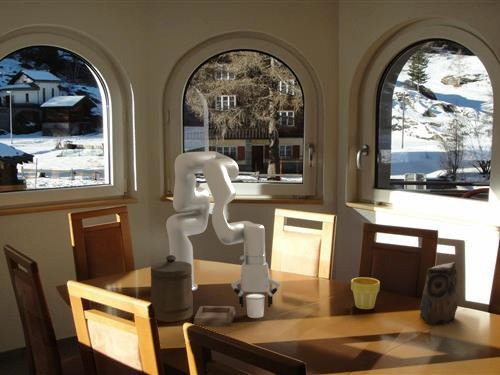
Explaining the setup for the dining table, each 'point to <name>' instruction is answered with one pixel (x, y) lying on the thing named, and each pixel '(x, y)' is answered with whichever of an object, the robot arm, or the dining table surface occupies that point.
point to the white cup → (255, 305)
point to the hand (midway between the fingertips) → (256, 306)
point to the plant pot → (365, 292)
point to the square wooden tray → (214, 316)
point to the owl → (440, 295)
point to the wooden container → (172, 290)
